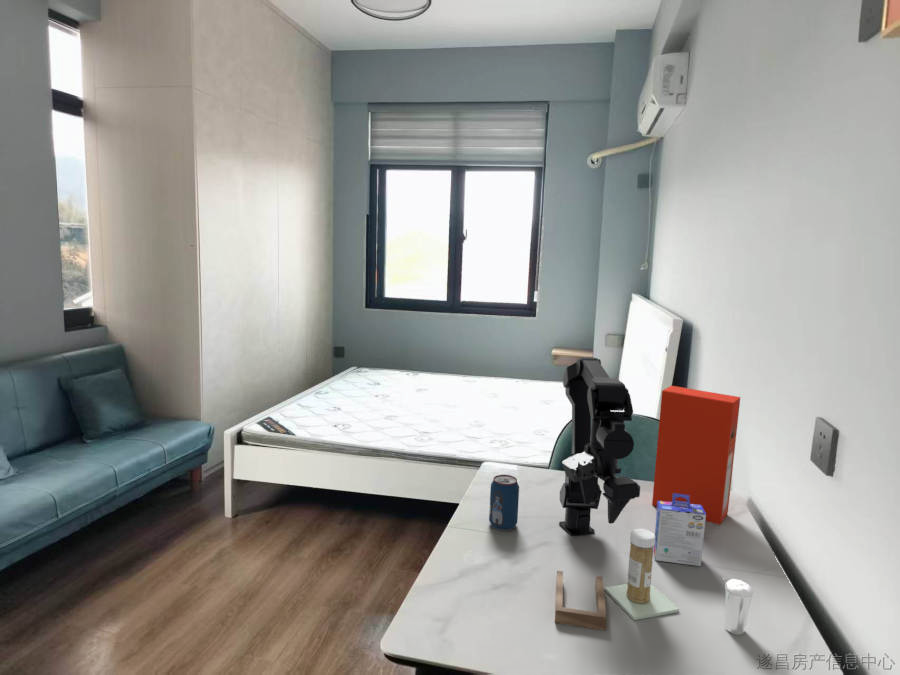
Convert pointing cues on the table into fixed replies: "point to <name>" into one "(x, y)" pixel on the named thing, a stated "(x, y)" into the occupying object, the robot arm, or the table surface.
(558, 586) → the wooden holder
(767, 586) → the table surface
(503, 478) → the soda can
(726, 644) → the table surface
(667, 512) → the ink cartridge box
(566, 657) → the table surface
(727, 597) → the milkshake
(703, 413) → the red box
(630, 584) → the sprinkles bottle
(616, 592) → the pad
